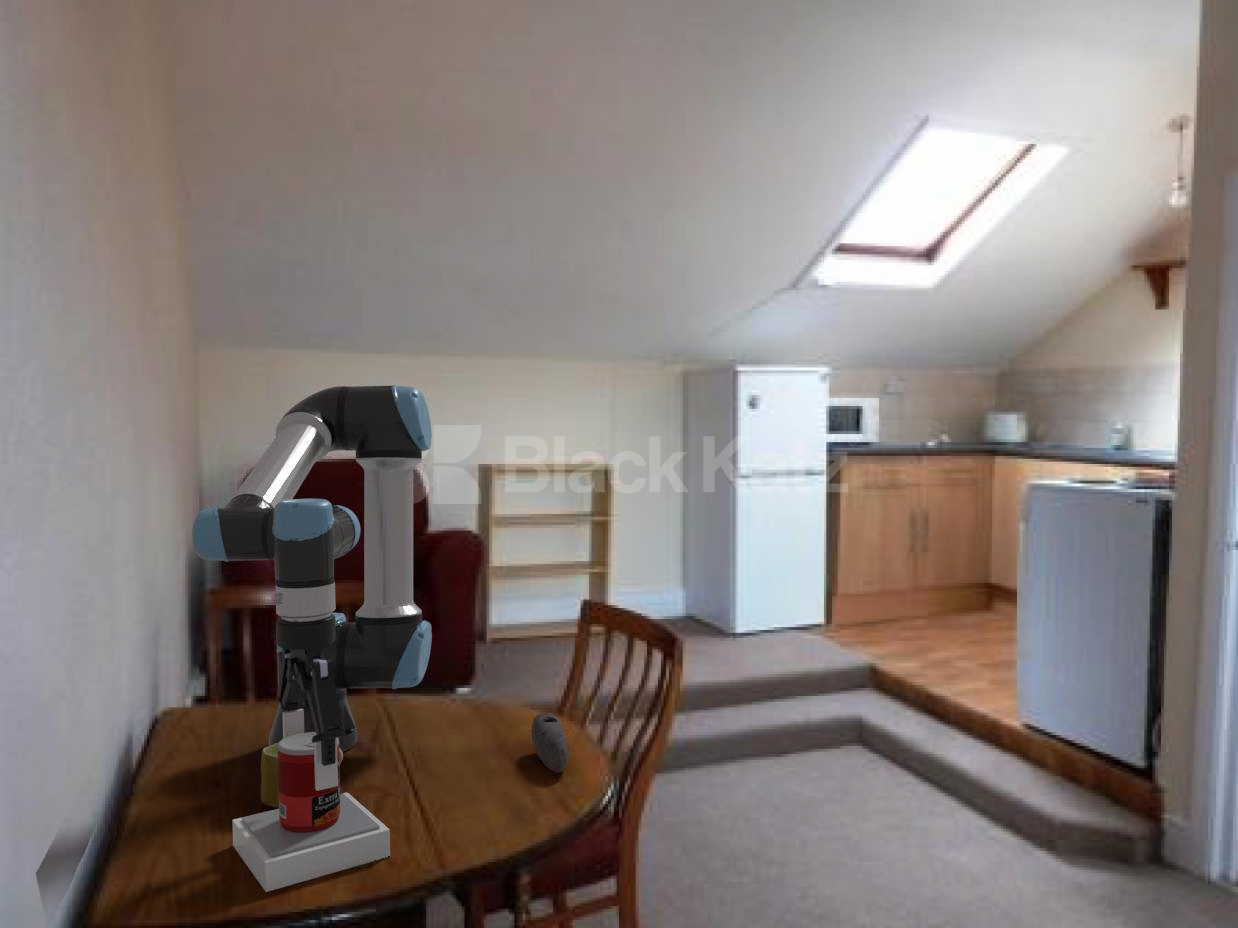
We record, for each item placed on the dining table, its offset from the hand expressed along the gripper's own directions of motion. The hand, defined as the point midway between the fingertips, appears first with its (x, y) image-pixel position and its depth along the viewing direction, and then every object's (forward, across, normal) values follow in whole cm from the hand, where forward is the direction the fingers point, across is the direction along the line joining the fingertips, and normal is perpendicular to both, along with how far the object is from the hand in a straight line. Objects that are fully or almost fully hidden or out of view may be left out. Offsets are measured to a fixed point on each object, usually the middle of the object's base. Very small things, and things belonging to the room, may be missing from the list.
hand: (309, 771), depth 125 cm
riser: (+11, 0, 0) cm, 11 cm away
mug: (+11, -19, +5) cm, 22 cm away
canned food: (+7, 0, 0) cm, 7 cm away
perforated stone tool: (+12, -8, +43) cm, 45 cm away
